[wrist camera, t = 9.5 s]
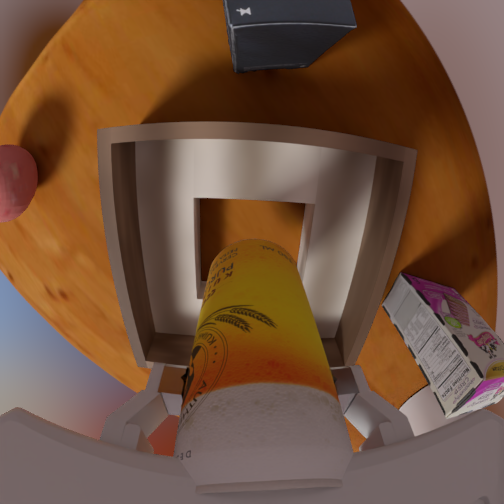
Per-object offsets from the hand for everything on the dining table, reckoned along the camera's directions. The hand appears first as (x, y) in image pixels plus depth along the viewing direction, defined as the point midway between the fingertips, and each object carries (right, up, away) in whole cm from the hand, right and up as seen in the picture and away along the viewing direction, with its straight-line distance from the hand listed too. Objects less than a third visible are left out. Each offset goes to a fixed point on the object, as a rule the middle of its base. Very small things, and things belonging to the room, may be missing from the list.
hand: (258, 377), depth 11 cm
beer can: (0, +4, +8) cm, 9 cm away
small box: (+1, +25, +5) cm, 25 cm away
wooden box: (0, +7, +13) cm, 15 cm away
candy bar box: (+20, 0, +17) cm, 26 cm away
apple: (-24, +14, +9) cm, 29 cm away
